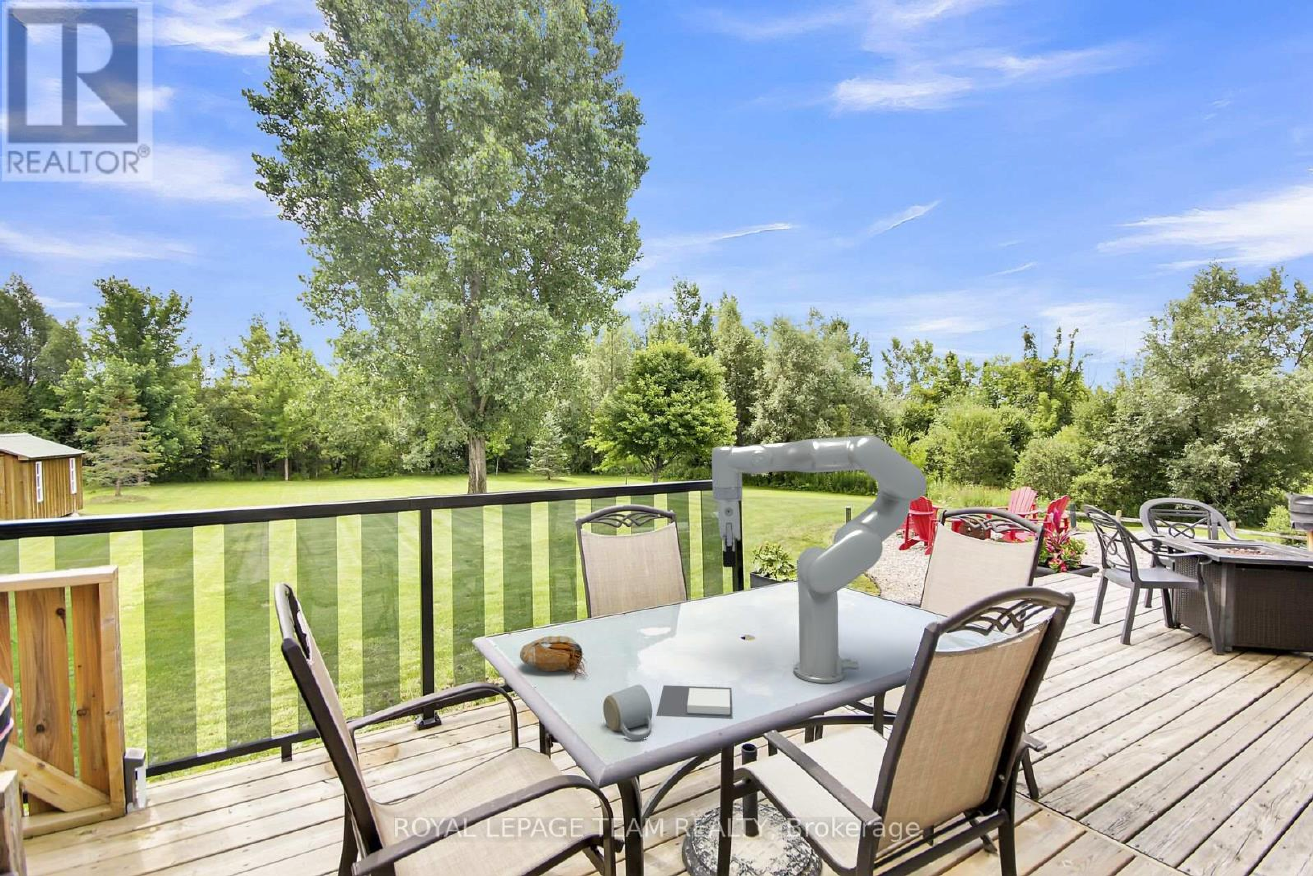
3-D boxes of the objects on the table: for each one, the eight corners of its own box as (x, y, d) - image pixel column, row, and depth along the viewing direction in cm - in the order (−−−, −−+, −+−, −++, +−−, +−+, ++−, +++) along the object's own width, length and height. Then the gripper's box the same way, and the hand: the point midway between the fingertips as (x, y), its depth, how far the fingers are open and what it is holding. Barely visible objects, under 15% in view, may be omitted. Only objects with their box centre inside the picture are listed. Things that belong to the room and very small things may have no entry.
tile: (729, 689, 134) (730, 706, 125) (729, 698, 134) (730, 716, 125) (689, 688, 135) (687, 705, 126) (689, 696, 135) (687, 714, 126)
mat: (731, 690, 140) (731, 687, 140) (732, 721, 124) (732, 718, 124) (663, 687, 141) (663, 685, 141) (656, 718, 125) (656, 715, 125)
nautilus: (606, 677, 149) (554, 697, 140) (561, 650, 166) (512, 666, 156) (606, 647, 149) (553, 664, 139) (561, 622, 165) (511, 637, 155)
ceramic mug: (600, 724, 123) (600, 687, 123) (635, 714, 127) (635, 679, 127) (625, 747, 114) (625, 707, 114) (661, 736, 118) (661, 697, 118)
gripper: (744, 496, 144) (746, 572, 143) (740, 491, 159) (742, 560, 158) (713, 497, 144) (715, 572, 144) (712, 492, 159) (714, 561, 159)
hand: (729, 566), depth 151 cm, fingers closed
